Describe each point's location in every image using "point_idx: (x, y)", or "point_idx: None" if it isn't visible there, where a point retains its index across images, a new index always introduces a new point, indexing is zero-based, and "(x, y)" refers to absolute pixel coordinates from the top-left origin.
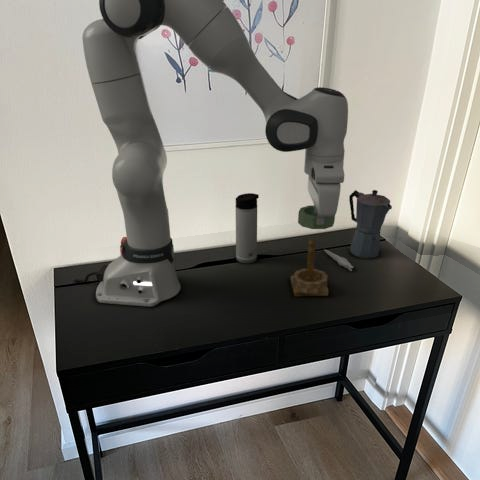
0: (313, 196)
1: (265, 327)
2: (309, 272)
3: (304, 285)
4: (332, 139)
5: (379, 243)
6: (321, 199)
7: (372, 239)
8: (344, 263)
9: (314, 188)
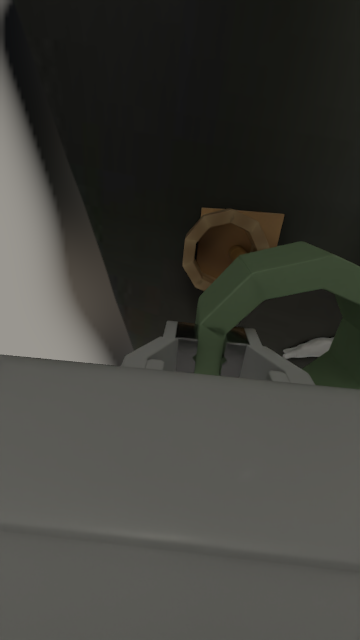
0: (226, 418)
1: (64, 99)
2: (233, 256)
3: (189, 232)
4: None
5: None
6: None
7: None
8: (305, 347)
9: (216, 535)
